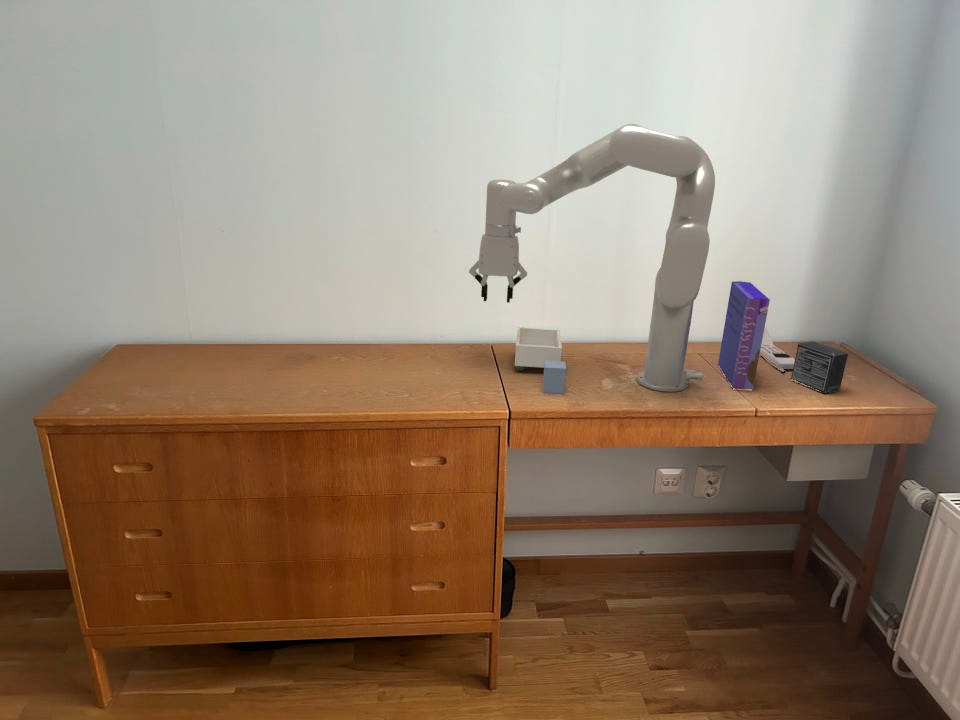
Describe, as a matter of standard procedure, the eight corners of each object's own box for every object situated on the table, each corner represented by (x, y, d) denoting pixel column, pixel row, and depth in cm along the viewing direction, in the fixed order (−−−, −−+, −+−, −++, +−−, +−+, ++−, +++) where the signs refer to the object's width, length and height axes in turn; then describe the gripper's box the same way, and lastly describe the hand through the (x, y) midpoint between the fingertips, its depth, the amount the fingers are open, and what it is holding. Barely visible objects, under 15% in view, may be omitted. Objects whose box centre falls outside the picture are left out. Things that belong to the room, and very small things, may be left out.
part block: (563, 388, 172) (565, 361, 170) (563, 395, 167) (566, 368, 165) (542, 386, 172) (544, 360, 170) (543, 394, 168) (545, 367, 165)
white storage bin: (557, 355, 193) (559, 329, 190) (559, 375, 178) (561, 348, 175) (515, 352, 193) (517, 327, 191) (514, 372, 179) (515, 345, 176)
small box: (841, 391, 177) (850, 352, 174) (825, 395, 174) (834, 355, 170) (805, 377, 186) (813, 339, 182) (789, 380, 183) (797, 343, 179)
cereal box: (752, 391, 175) (770, 298, 166) (733, 390, 175) (749, 297, 167) (735, 367, 191) (750, 281, 183) (717, 365, 191) (731, 280, 183)
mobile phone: (766, 326, 209) (805, 354, 185) (763, 345, 211) (801, 374, 187) (746, 326, 209) (783, 354, 185) (743, 345, 211) (779, 374, 187)
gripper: (534, 230, 177) (529, 298, 184) (467, 226, 178) (465, 295, 185) (534, 235, 170) (529, 306, 177) (464, 231, 171) (462, 302, 177)
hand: (496, 300), depth 180 cm, fingers open, 5 cm apart
